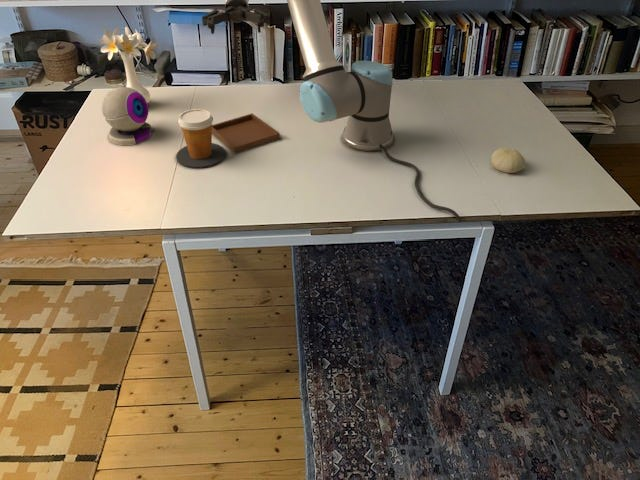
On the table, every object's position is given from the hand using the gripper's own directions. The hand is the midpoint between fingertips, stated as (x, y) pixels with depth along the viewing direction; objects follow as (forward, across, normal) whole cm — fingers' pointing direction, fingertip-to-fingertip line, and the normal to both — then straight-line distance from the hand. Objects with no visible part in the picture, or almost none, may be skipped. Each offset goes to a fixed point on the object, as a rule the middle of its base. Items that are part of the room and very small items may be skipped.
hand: (235, 28), depth 158 cm
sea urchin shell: (+37, -74, -29) cm, 88 cm away
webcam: (+8, +34, -29) cm, 46 cm away
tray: (+11, 0, -29) cm, 31 cm away
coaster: (+22, +12, -29) cm, 39 cm away
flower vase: (-13, +35, -29) cm, 47 cm away
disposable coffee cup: (+22, +12, -28) cm, 38 cm away
